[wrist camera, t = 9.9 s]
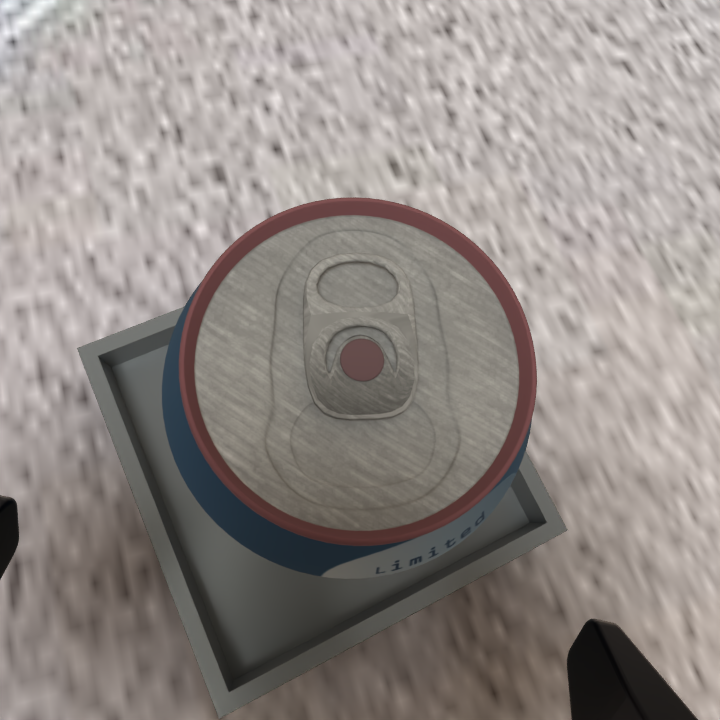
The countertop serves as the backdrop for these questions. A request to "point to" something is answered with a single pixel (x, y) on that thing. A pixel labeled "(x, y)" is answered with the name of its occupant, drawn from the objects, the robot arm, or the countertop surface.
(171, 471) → the tray
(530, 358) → the soda can
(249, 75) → the countertop surface
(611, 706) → the robot arm
